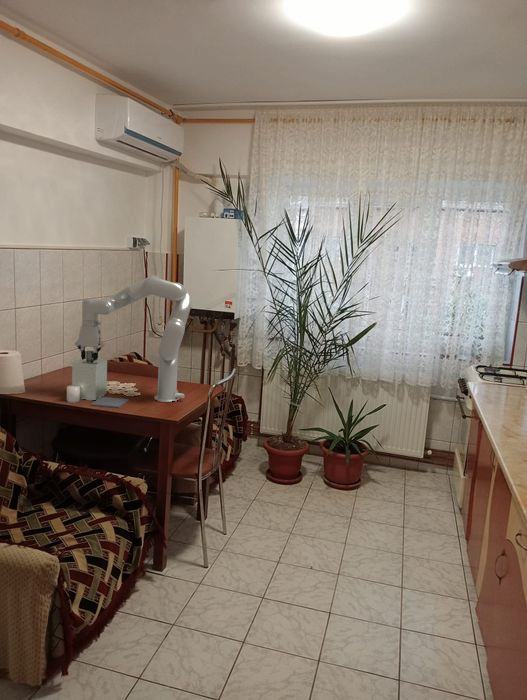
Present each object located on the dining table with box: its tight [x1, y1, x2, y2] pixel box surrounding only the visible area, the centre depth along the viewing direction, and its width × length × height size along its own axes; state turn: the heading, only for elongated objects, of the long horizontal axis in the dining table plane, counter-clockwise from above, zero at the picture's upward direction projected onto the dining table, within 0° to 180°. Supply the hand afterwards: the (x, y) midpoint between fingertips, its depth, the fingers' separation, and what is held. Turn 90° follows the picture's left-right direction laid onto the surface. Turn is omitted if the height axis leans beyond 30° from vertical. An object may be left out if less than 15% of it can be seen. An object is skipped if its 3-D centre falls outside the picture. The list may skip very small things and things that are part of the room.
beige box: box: [71, 350, 108, 401], centre depth 270 cm, size 12×13×23 cm
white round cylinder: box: [66, 384, 81, 403], centre depth 262 cm, size 6×6×7 cm
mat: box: [90, 396, 130, 409], centre depth 262 cm, size 14×14×1 cm
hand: (89, 359), depth 268 cm, fingers open, 5 cm apart
